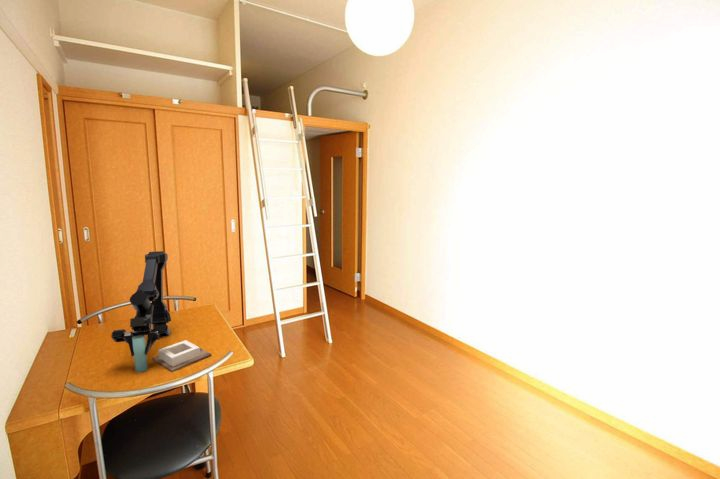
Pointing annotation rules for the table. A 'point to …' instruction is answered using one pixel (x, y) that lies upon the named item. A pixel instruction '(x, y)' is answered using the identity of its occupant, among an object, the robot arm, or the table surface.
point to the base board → (202, 356)
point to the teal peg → (140, 353)
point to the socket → (179, 353)
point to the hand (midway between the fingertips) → (139, 355)
